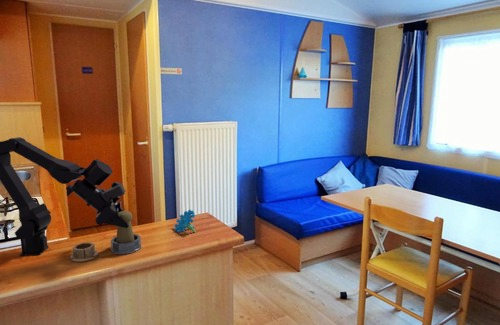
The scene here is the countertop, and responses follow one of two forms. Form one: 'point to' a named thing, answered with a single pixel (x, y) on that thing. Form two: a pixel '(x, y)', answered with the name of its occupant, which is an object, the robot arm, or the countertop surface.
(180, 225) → the gear
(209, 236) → the countertop surface
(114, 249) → the fitting collar
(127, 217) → the cork
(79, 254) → the small collar
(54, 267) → the countertop surface
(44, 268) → the countertop surface
